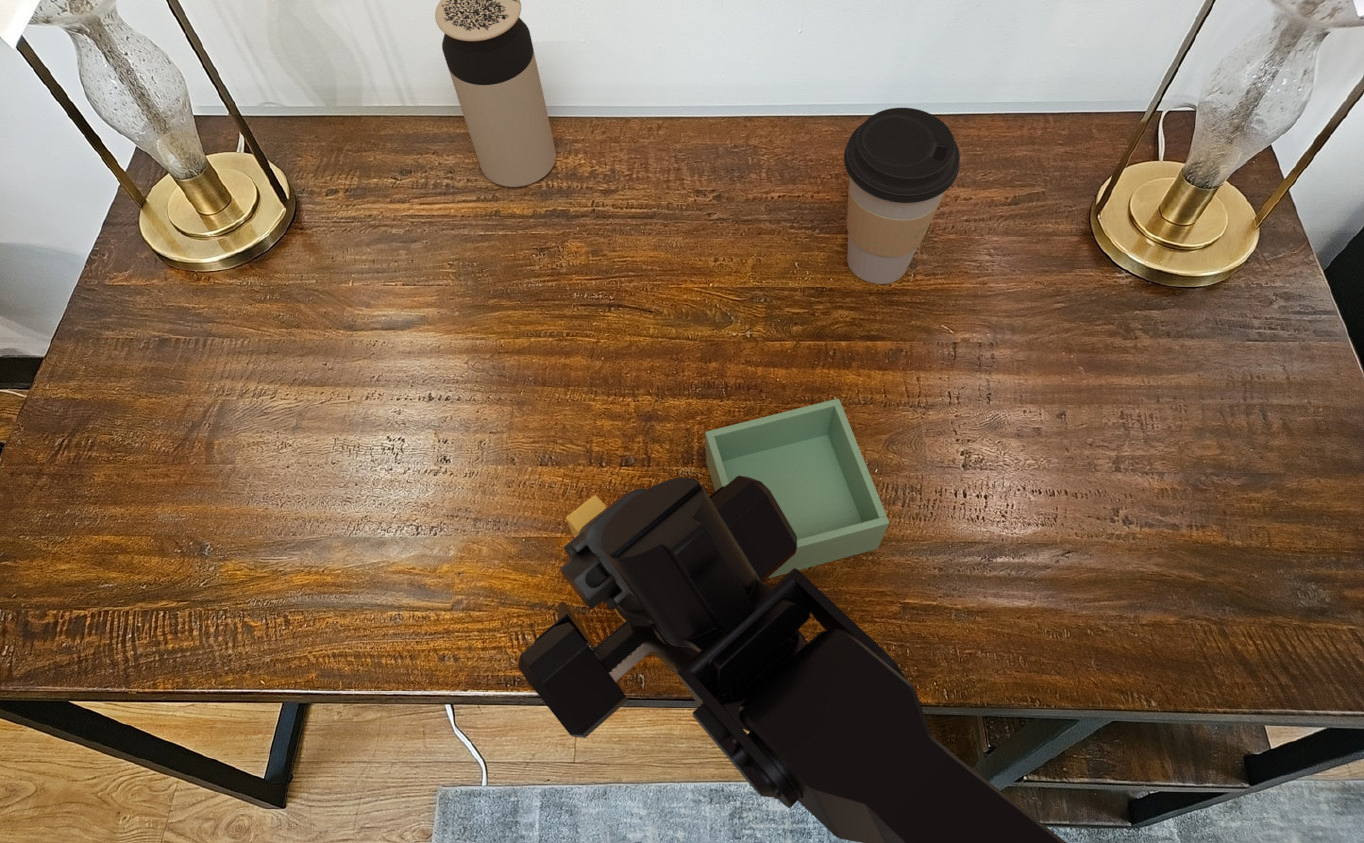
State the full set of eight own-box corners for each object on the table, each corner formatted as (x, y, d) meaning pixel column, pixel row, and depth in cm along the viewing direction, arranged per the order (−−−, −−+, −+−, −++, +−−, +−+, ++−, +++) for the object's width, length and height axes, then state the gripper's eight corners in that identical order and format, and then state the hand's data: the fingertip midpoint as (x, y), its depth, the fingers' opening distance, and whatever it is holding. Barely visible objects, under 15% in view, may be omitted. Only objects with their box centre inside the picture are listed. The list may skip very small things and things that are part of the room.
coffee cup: (934, 296, 83) (976, 181, 69) (833, 302, 83) (855, 188, 70) (917, 219, 87) (953, 97, 74) (821, 224, 87) (839, 103, 74)
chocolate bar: (616, 563, 71) (595, 492, 59) (657, 610, 69) (644, 547, 57) (591, 584, 71) (564, 517, 58) (631, 631, 69) (612, 572, 56)
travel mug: (518, 201, 90) (476, 52, 74) (464, 165, 93) (412, 14, 77) (572, 155, 93) (542, 2, 77) (518, 122, 95) (478, -33, 80)
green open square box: (877, 549, 71) (889, 522, 66) (743, 585, 70) (745, 561, 65) (831, 430, 76) (838, 397, 71) (705, 462, 75) (704, 431, 70)
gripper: (778, 426, 49) (659, 396, 63) (501, 651, 43) (439, 564, 57) (862, 575, 53) (733, 516, 67) (618, 799, 47) (533, 684, 61)
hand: (615, 565), depth 63 cm, fingers open, 9 cm apart
